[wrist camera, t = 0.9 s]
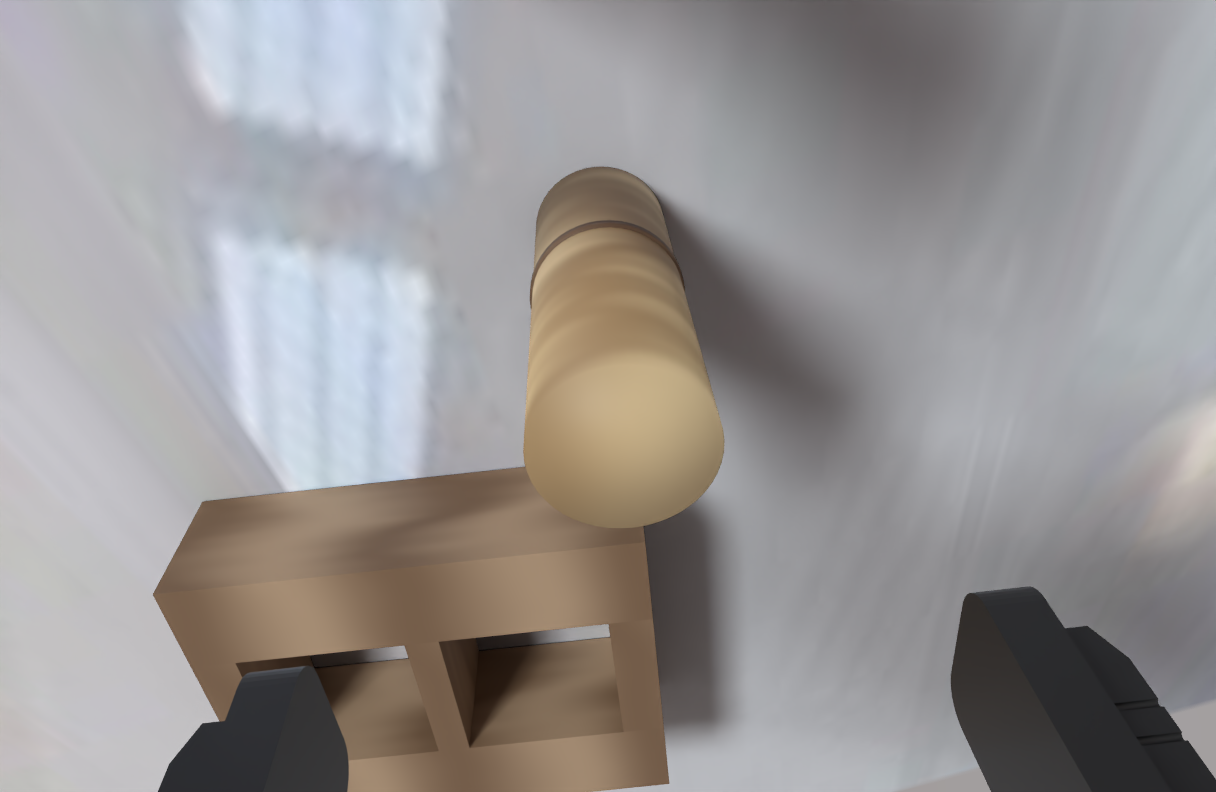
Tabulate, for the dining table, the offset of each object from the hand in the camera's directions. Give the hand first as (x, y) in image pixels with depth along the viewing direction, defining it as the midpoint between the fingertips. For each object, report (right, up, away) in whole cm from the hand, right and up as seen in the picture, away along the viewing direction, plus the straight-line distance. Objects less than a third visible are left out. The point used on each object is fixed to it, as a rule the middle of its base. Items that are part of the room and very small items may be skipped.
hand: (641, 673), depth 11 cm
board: (-6, -4, +19) cm, 21 cm away
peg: (-1, +8, +12) cm, 15 cm away
